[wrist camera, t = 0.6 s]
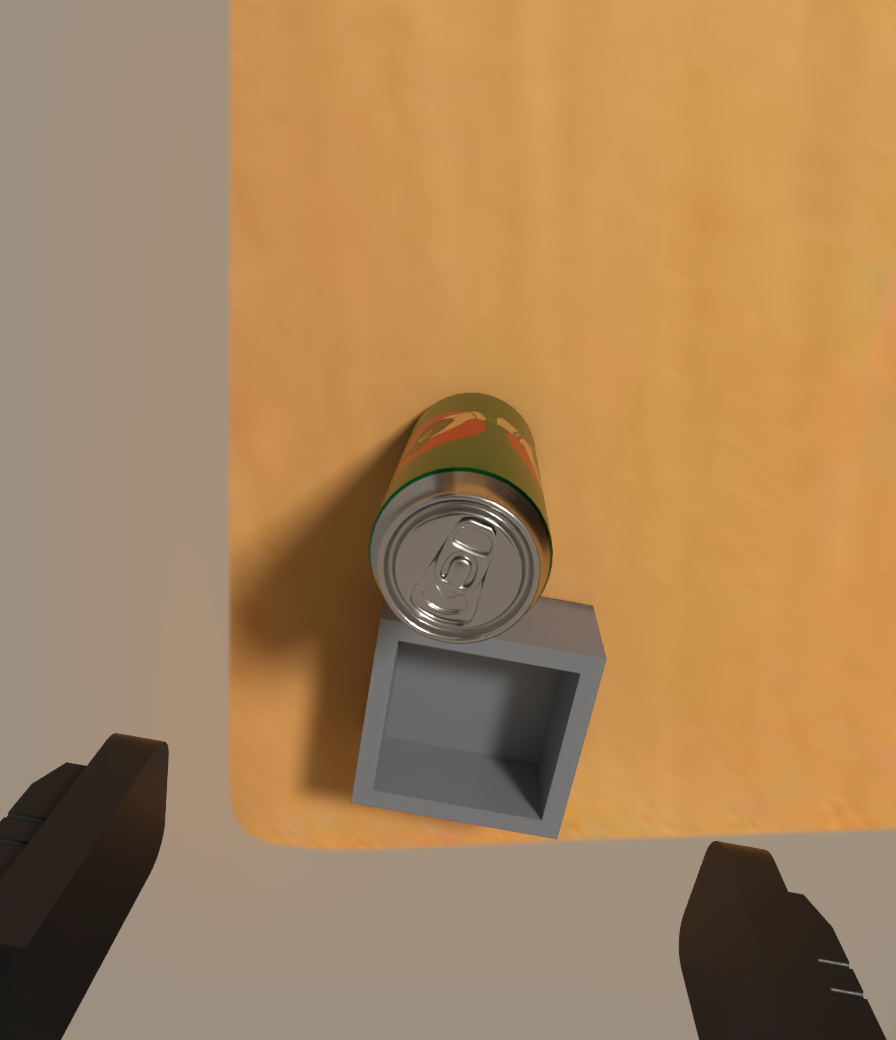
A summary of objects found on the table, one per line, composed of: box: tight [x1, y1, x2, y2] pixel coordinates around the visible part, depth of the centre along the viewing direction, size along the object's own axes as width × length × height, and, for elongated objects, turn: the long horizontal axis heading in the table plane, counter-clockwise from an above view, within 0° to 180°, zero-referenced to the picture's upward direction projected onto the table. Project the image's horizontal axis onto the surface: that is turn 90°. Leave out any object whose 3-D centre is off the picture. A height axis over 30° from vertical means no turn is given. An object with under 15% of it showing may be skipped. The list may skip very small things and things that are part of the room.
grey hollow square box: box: [351, 596, 606, 839], centre depth 33 cm, size 9×9×4 cm
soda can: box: [369, 393, 553, 644], centre depth 26 cm, size 5×5×12 cm
